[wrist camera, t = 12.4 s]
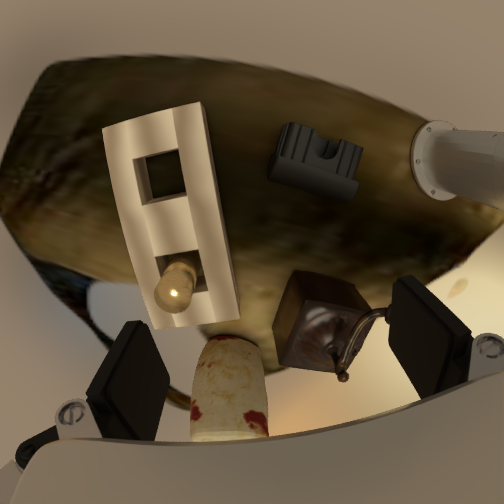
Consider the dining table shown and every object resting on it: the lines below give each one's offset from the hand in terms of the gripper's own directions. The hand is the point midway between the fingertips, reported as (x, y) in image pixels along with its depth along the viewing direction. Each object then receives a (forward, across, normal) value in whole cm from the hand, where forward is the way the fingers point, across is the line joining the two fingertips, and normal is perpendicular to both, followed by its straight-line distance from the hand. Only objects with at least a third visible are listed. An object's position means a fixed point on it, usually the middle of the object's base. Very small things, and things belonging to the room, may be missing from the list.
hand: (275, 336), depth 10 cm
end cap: (+30, -8, -4) cm, 31 cm away
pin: (+29, +10, +7) cm, 31 cm away
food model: (+29, +8, +22) cm, 37 cm away
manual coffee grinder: (+29, -7, +15) cm, 34 cm away
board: (+29, +10, +1) cm, 30 cm away
